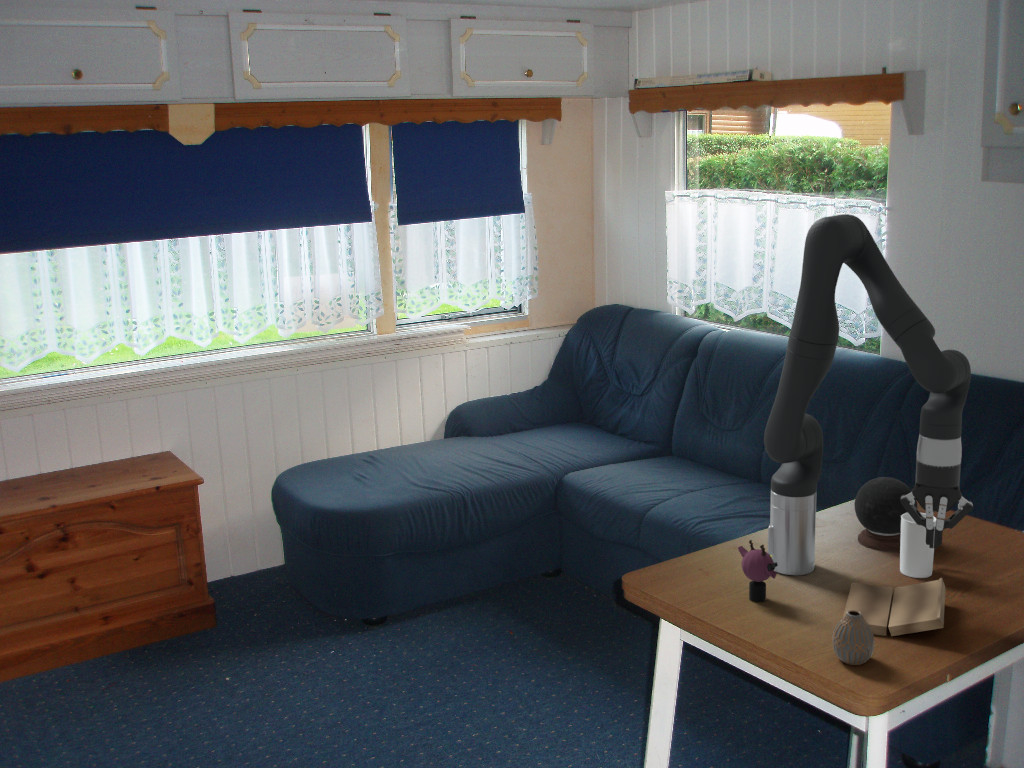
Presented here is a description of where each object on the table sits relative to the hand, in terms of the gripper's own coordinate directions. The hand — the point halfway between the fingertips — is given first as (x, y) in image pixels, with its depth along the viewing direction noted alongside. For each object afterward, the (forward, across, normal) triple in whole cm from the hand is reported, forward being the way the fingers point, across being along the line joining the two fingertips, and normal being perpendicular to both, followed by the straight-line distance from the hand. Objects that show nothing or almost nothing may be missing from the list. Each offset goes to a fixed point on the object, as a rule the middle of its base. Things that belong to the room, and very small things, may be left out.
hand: (933, 546), depth 186 cm
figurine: (+13, -32, -5) cm, 35 cm away
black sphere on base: (+13, -10, +34) cm, 38 cm away
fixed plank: (+13, -11, -4) cm, 17 cm away
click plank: (+11, -2, -4) cm, 12 cm away
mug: (+13, -2, +20) cm, 24 cm away
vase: (+13, -12, -24) cm, 30 cm away
